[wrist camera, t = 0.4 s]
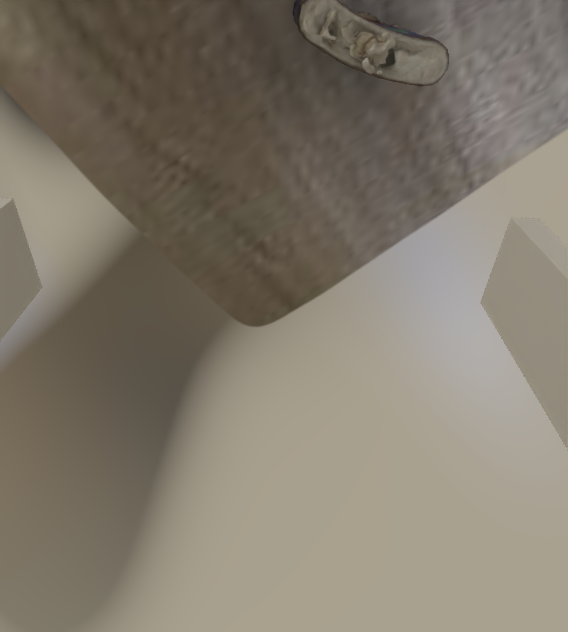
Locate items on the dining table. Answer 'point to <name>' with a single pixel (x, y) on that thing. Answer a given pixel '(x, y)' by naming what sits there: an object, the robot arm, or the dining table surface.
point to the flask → (371, 43)
